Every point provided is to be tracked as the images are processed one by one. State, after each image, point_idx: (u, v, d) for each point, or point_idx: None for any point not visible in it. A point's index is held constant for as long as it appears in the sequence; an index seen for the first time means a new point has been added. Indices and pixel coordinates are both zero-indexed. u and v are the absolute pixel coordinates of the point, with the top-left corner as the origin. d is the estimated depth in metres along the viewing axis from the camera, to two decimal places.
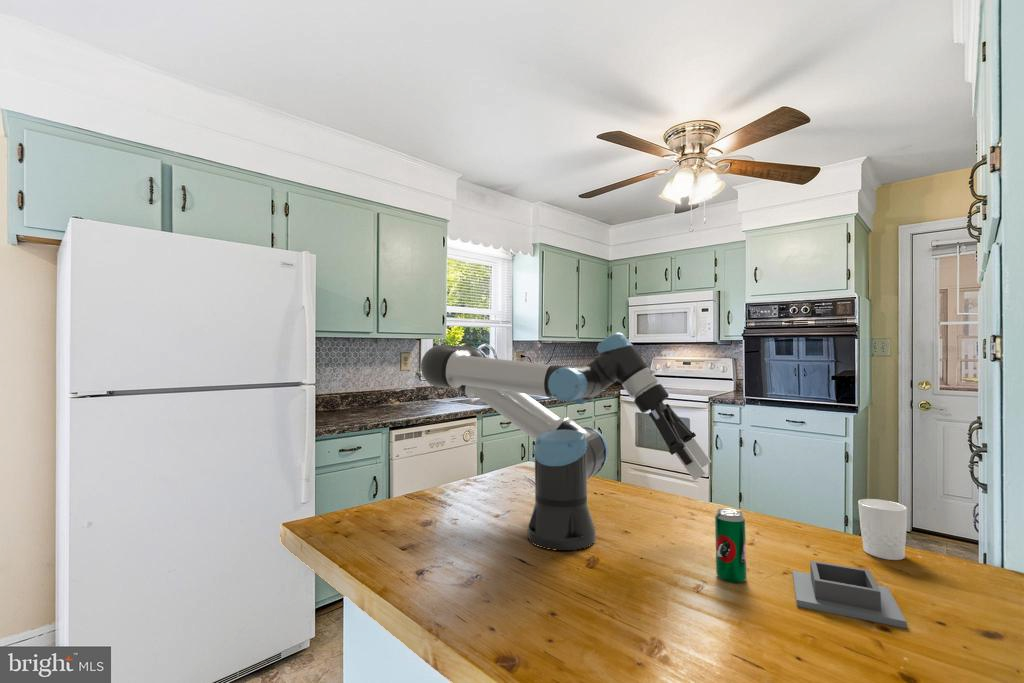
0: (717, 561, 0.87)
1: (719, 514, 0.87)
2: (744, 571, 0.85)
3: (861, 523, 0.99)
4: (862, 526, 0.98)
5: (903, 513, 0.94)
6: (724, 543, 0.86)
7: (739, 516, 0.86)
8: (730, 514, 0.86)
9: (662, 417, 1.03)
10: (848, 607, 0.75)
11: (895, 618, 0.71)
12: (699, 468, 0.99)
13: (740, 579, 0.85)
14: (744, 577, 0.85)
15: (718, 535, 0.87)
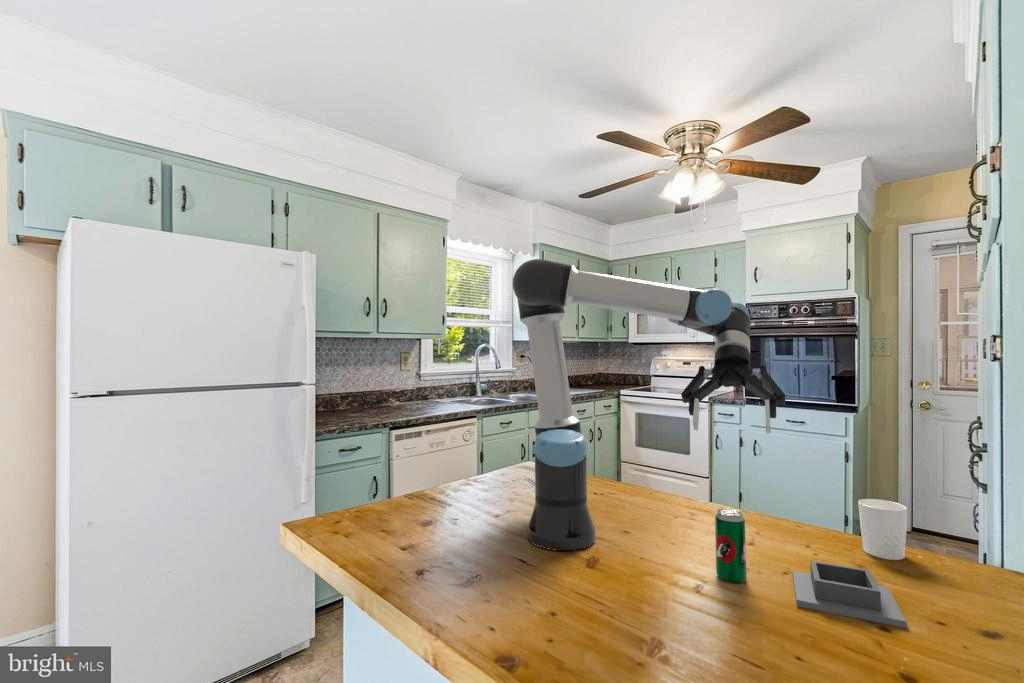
0: (717, 561, 0.87)
1: (719, 514, 0.87)
2: (744, 571, 0.85)
3: (861, 523, 0.99)
4: (862, 526, 0.98)
5: (903, 513, 0.94)
6: (724, 543, 0.86)
7: (739, 516, 0.86)
8: (730, 514, 0.86)
9: None
10: (848, 607, 0.75)
11: (895, 618, 0.71)
12: None
13: (740, 579, 0.85)
14: (744, 577, 0.85)
15: (718, 535, 0.87)
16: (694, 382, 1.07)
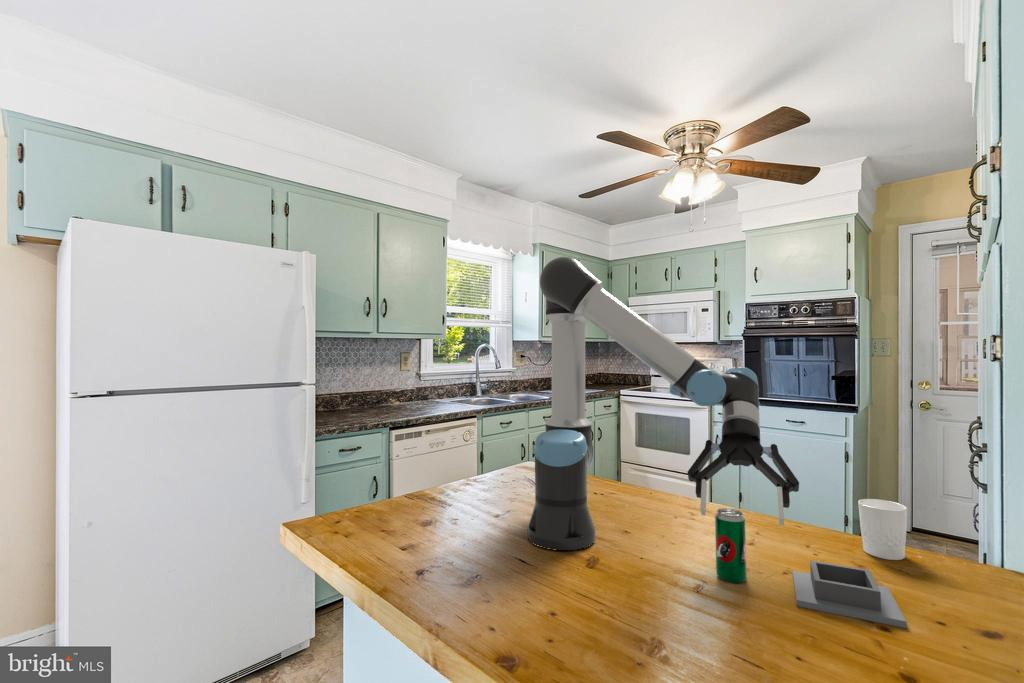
0: (717, 561, 0.87)
1: (719, 514, 0.87)
2: (744, 571, 0.85)
3: (861, 523, 0.99)
4: (862, 526, 0.98)
5: (903, 513, 0.94)
6: (724, 543, 0.86)
7: (739, 516, 0.86)
8: (730, 514, 0.86)
9: None
10: (848, 607, 0.75)
11: (895, 618, 0.71)
12: None
13: (740, 579, 0.85)
14: (744, 577, 0.85)
15: (718, 535, 0.87)
16: (701, 459, 1.01)
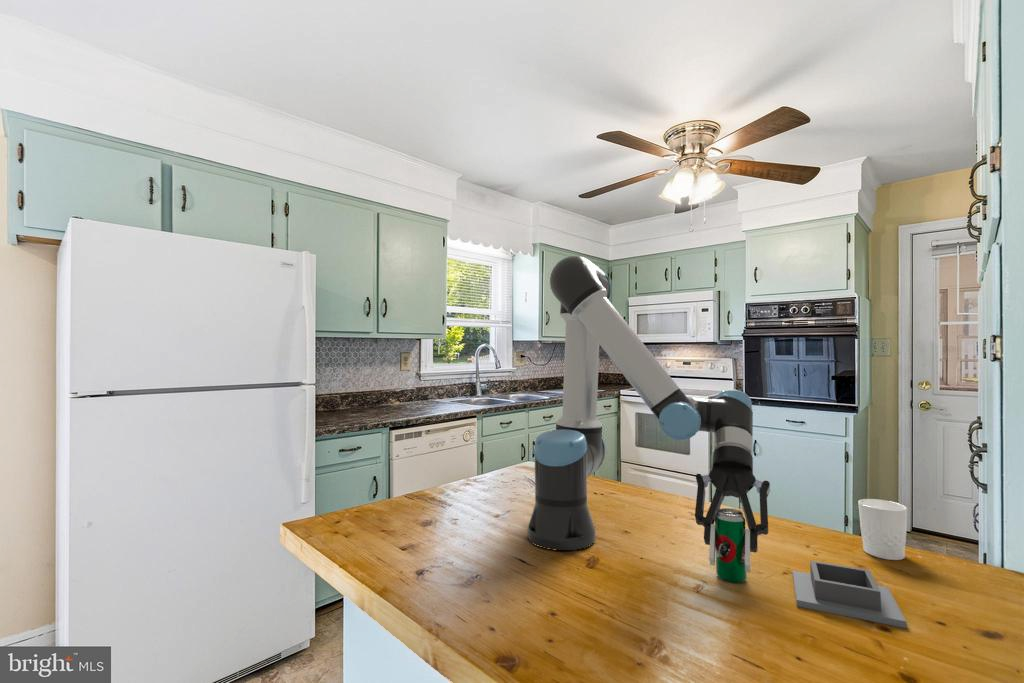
0: (717, 561, 0.87)
1: (719, 514, 0.87)
2: (744, 571, 0.85)
3: (861, 523, 0.99)
4: (862, 526, 0.98)
5: (903, 513, 0.94)
6: (724, 543, 0.86)
7: (739, 516, 0.86)
8: (730, 514, 0.86)
9: None
10: (848, 607, 0.75)
11: (895, 618, 0.71)
12: None
13: (740, 579, 0.85)
14: (744, 577, 0.85)
15: (718, 535, 0.87)
16: (701, 497, 0.93)
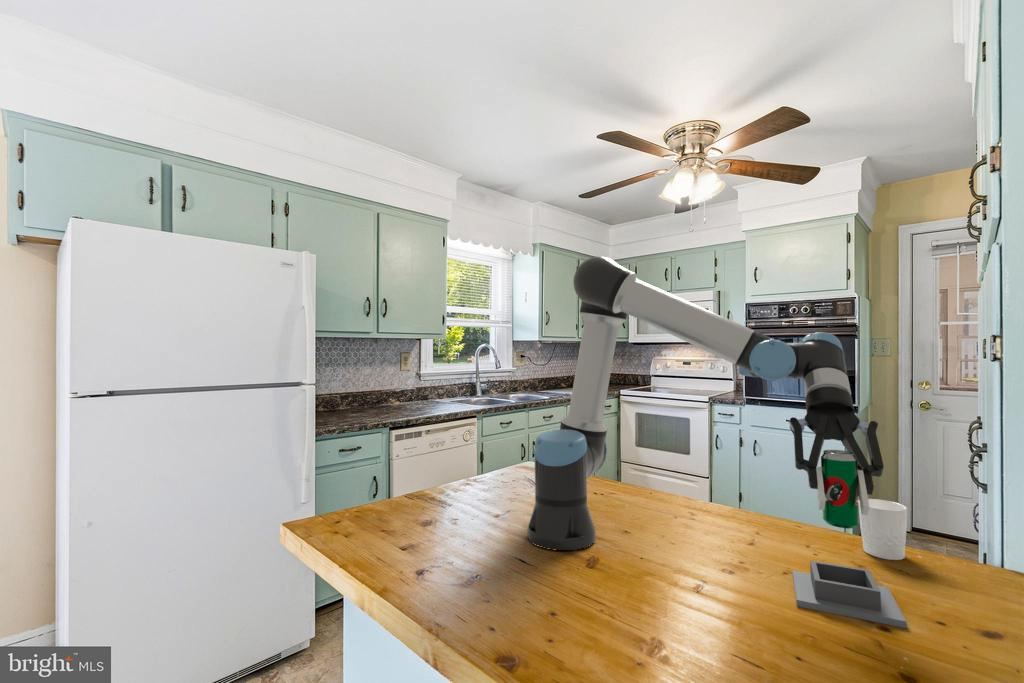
0: (826, 506, 0.80)
1: (827, 454, 0.80)
2: (858, 515, 0.78)
3: (861, 523, 0.99)
4: (862, 526, 0.98)
5: (903, 513, 0.94)
6: (835, 485, 0.78)
7: (851, 455, 0.78)
8: (841, 453, 0.79)
9: None
10: (848, 607, 0.75)
11: (895, 618, 0.71)
12: None
13: (854, 524, 0.77)
14: (858, 522, 0.78)
15: (827, 477, 0.79)
16: (800, 440, 0.86)
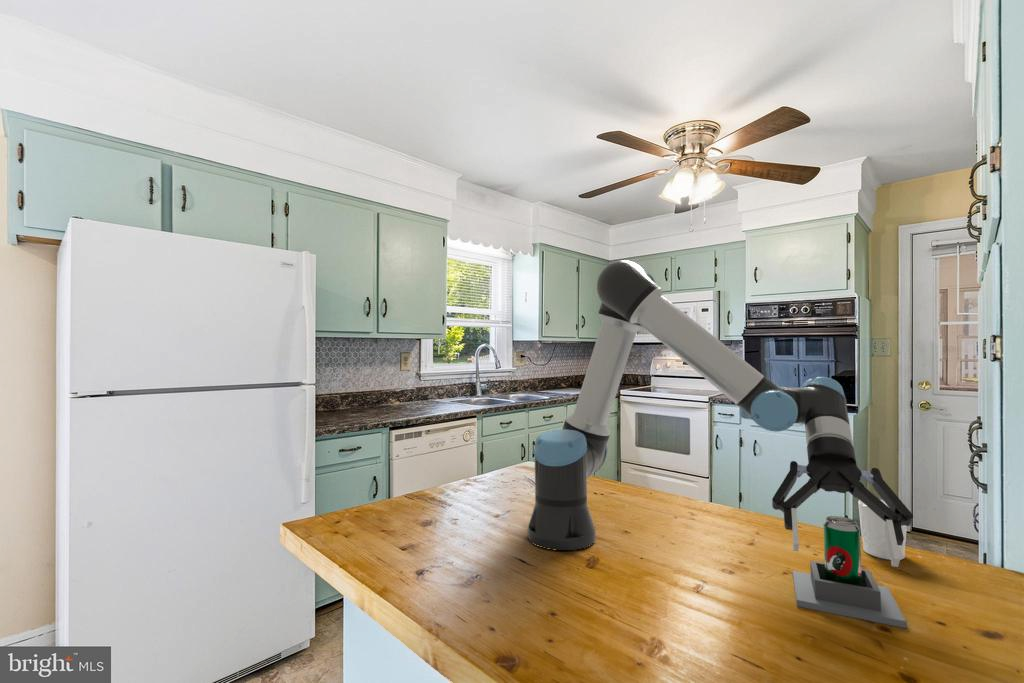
0: (828, 575, 0.79)
1: (830, 523, 0.79)
2: None
3: (861, 523, 0.99)
4: (862, 526, 0.98)
5: None
6: (838, 555, 0.78)
7: (854, 525, 0.78)
8: (844, 523, 0.78)
9: None
10: (848, 607, 0.75)
11: (895, 618, 0.71)
12: None
13: None
14: None
15: (829, 546, 0.79)
16: (787, 484, 0.87)
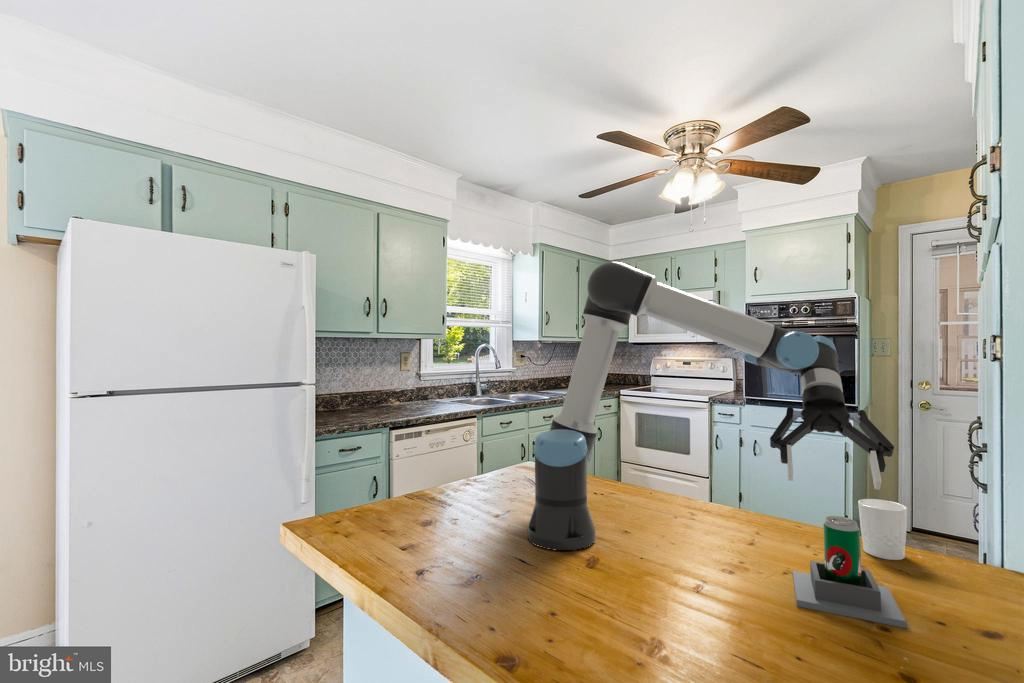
0: (828, 575, 0.79)
1: (830, 523, 0.79)
2: None
3: (861, 523, 0.99)
4: (862, 526, 0.98)
5: (903, 513, 0.94)
6: (838, 555, 0.78)
7: (854, 525, 0.78)
8: (843, 523, 0.78)
9: None
10: (848, 607, 0.75)
11: (895, 618, 0.71)
12: None
13: None
14: None
15: (829, 546, 0.79)
16: (783, 425, 0.99)
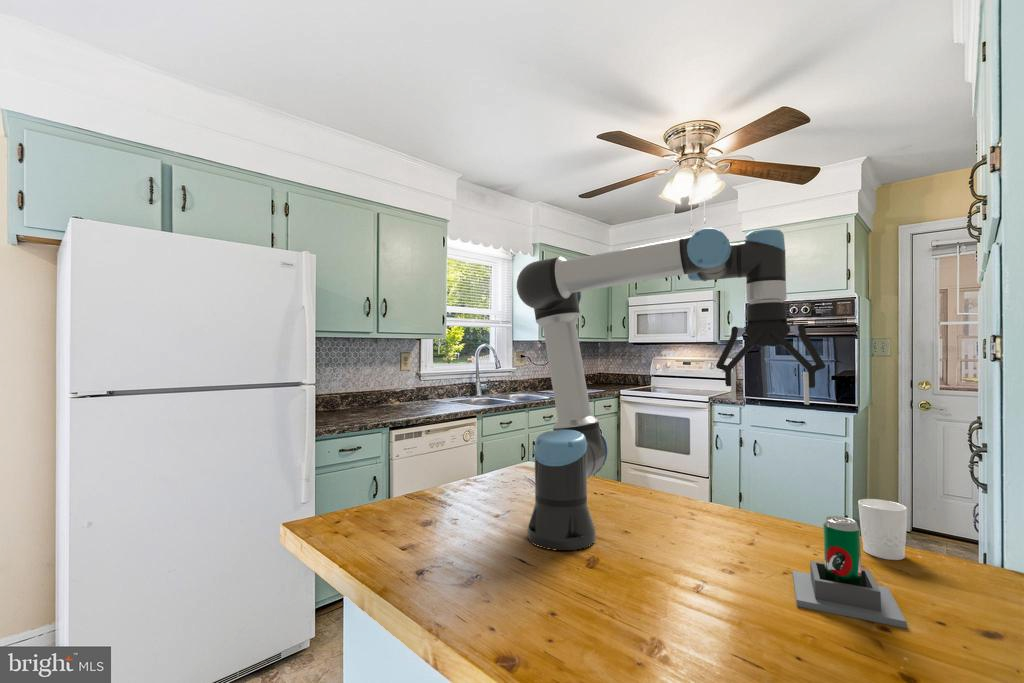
0: (828, 575, 0.79)
1: (830, 523, 0.79)
2: None
3: (861, 523, 0.99)
4: (862, 526, 0.98)
5: (903, 513, 0.94)
6: (838, 555, 0.78)
7: (854, 525, 0.78)
8: (843, 523, 0.78)
9: None
10: (848, 607, 0.75)
11: (895, 618, 0.71)
12: None
13: None
14: None
15: (829, 546, 0.79)
16: (728, 350, 1.04)
